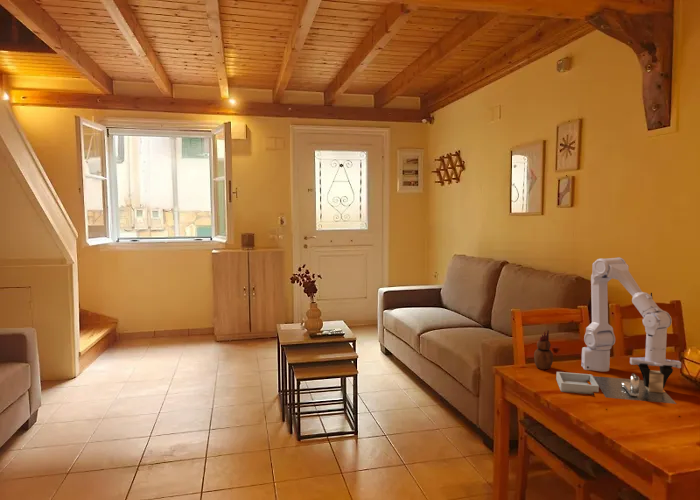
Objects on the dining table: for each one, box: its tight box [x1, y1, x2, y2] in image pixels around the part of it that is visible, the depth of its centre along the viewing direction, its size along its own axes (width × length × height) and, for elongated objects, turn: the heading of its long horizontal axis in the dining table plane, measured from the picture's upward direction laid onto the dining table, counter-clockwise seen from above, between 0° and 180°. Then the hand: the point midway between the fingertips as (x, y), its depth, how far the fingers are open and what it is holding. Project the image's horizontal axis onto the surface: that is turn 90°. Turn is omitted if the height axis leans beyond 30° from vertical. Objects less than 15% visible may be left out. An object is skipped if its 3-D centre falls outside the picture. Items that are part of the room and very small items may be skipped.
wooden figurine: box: [533, 330, 554, 370], centre depth 184 cm, size 7×6×15 cm
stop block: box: [645, 369, 664, 393], centre depth 159 cm, size 4×4×6 cm
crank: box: [621, 373, 640, 396], centre depth 157 cm, size 12×4×7 cm, turn 164°
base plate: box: [592, 375, 677, 405], centre depth 160 cm, size 20×20×1 cm
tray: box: [555, 371, 600, 395], centre depth 165 cm, size 12×12×3 cm
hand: (653, 386), depth 159 cm, fingers closed on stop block, 4 cm apart
